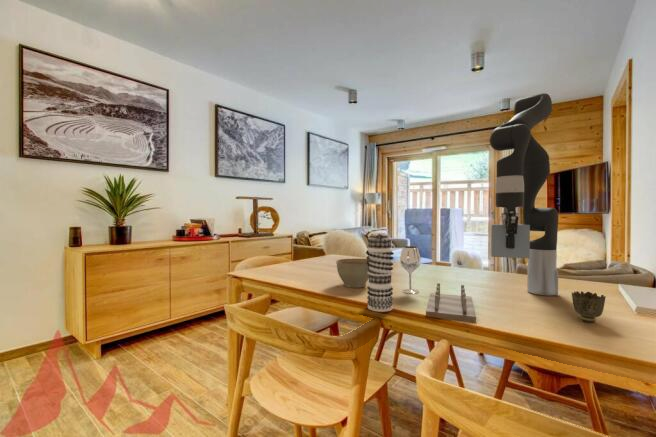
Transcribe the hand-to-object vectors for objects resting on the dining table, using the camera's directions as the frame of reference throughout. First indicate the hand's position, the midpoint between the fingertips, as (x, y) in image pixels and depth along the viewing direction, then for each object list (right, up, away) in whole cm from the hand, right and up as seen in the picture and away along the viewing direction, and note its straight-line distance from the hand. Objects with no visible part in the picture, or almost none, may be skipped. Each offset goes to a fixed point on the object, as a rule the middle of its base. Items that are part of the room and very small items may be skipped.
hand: (509, 247), depth 92 cm
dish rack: (-15, -21, +8) cm, 27 cm away
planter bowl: (-44, -21, +39) cm, 63 cm away
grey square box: (0, -3, 0) cm, 3 cm away
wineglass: (-23, -21, +28) cm, 42 cm away
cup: (+20, -21, -5) cm, 29 cm away
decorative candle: (-38, -21, +9) cm, 45 cm away
